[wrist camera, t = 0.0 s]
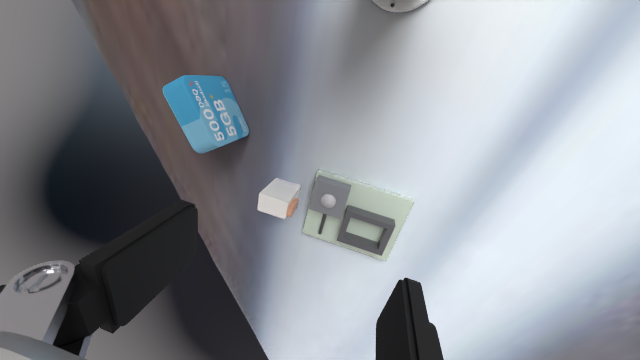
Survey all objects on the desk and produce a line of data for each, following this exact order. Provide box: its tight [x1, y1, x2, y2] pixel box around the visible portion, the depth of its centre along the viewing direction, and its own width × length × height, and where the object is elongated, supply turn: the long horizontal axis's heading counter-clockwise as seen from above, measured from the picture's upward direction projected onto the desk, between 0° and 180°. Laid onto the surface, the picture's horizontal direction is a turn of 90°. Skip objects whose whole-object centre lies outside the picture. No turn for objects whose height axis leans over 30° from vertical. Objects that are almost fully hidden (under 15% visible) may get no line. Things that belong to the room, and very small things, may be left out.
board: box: [302, 170, 414, 261], centre depth 49 cm, size 16×20×5 cm
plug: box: [257, 178, 301, 219], centre depth 49 cm, size 4×7×8 cm, turn 77°
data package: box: [163, 75, 249, 153], centre depth 42 cm, size 12×4×12 cm, turn 20°
